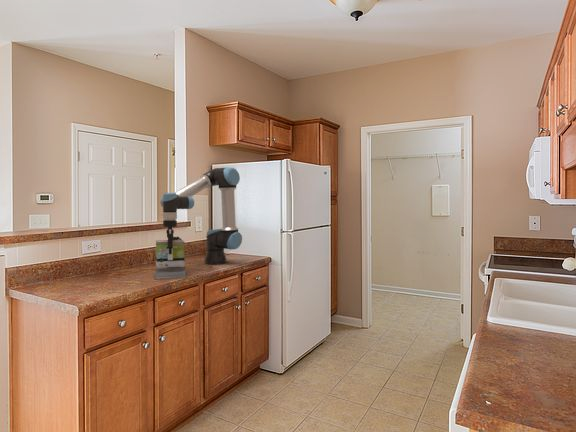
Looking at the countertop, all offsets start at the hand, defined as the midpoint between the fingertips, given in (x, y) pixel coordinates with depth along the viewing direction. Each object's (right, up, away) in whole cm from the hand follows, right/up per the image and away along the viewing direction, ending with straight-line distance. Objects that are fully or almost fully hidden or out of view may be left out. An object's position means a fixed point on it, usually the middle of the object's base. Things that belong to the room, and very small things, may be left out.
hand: (170, 258), depth 225 cm
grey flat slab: (0, -10, +1) cm, 10 cm away
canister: (-5, -9, +29) cm, 30 cm away
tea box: (0, -5, 0) cm, 5 cm away
